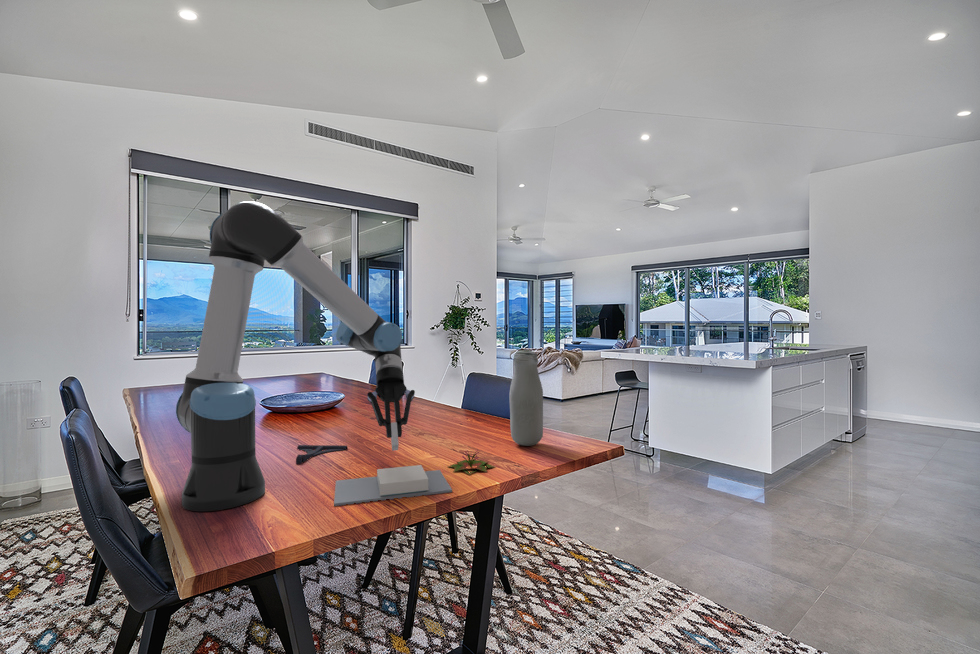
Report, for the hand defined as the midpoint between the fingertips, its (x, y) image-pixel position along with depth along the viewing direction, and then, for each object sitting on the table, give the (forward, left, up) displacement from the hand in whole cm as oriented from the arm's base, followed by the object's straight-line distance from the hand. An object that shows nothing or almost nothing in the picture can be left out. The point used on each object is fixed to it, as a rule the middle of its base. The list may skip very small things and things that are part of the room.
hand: (395, 447), depth 115 cm
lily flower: (+18, -5, -6) cm, 20 cm away
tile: (0, -10, -3) cm, 10 cm away
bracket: (-21, +19, -6) cm, 29 cm away
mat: (-2, -13, -5) cm, 14 cm away
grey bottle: (+39, +10, -5) cm, 41 cm away
